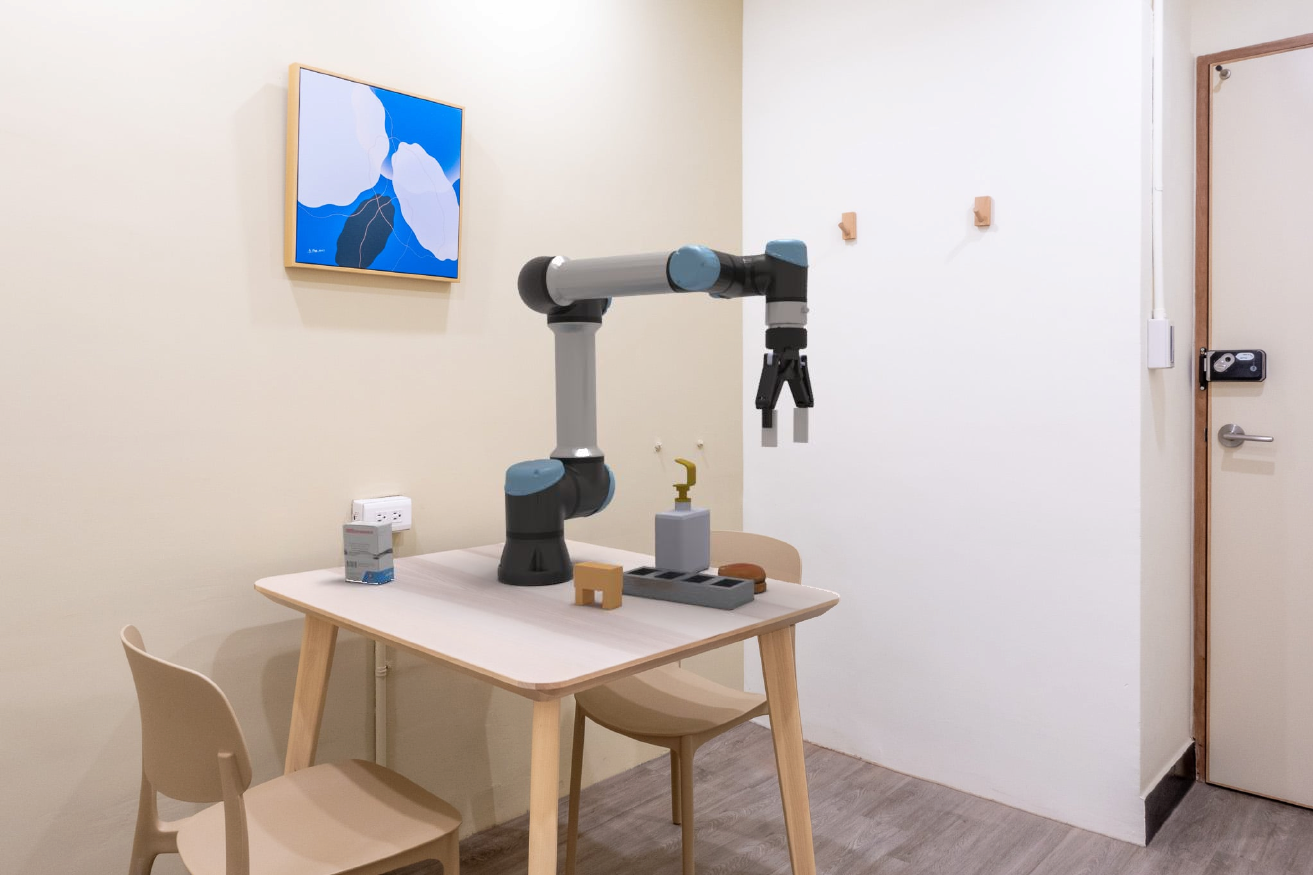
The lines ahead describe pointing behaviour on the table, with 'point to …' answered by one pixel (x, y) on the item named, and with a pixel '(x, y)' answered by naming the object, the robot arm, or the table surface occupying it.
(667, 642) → the table surface
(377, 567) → the ink box
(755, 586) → the burger
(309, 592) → the table surface
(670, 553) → the soap bottle
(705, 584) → the grey compartment tray
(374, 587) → the table surface
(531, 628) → the table surface
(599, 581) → the orange bridge block
